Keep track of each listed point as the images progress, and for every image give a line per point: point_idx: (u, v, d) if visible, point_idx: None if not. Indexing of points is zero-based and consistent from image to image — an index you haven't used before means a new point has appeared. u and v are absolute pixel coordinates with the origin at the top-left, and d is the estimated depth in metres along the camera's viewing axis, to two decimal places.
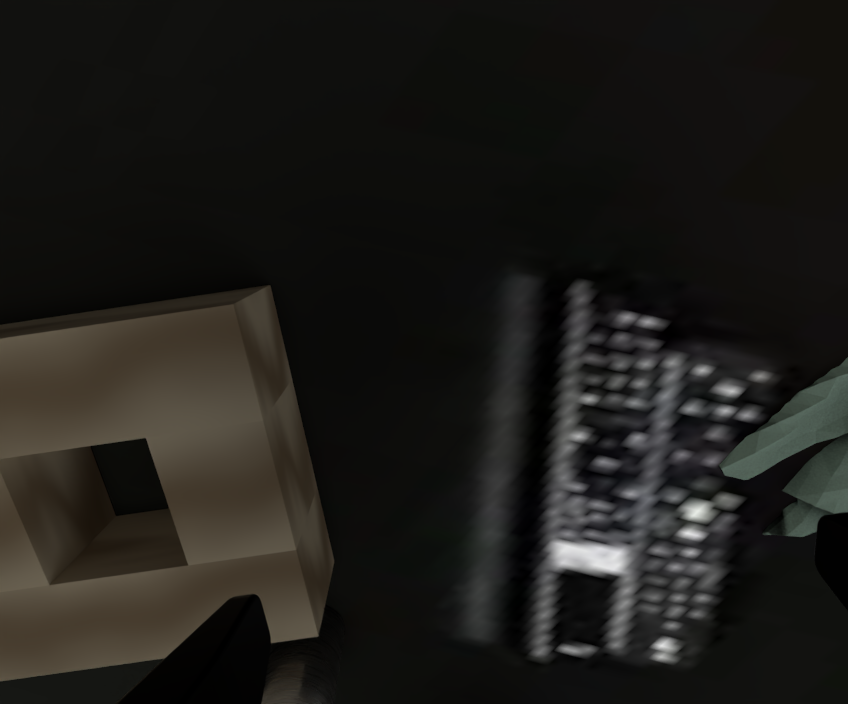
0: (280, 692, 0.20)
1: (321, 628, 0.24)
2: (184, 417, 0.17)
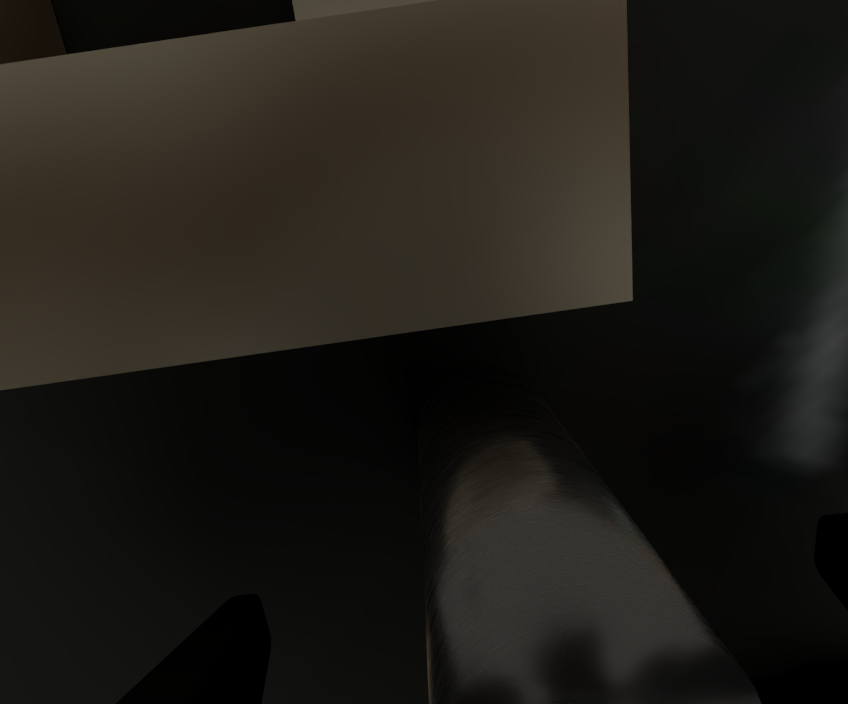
0: (517, 462, 0.08)
1: (533, 397, 0.11)
2: None
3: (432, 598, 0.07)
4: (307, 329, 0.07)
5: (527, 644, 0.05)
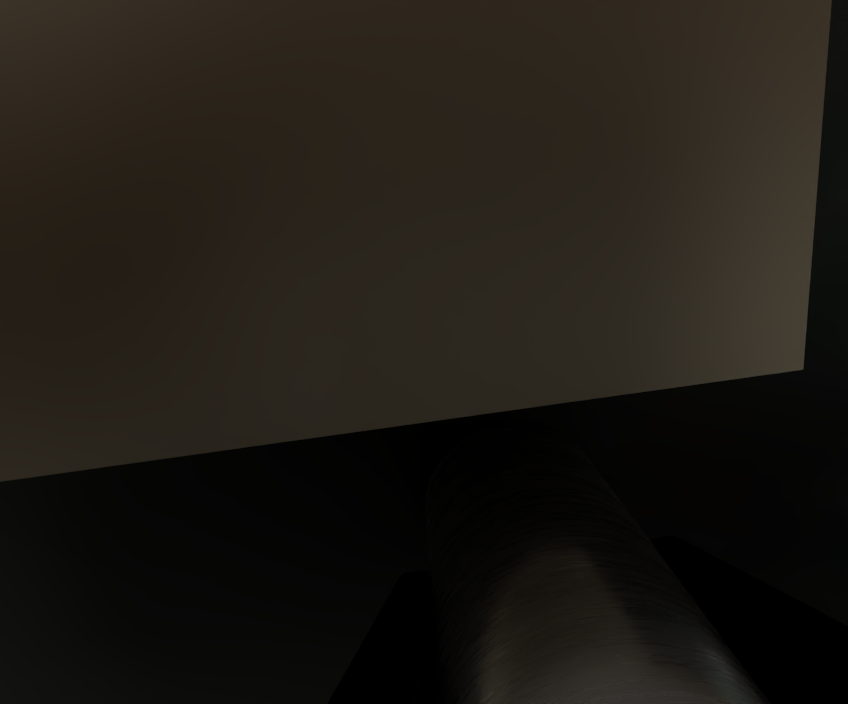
0: (600, 635, 0.05)
1: (586, 471, 0.08)
2: None
3: None
4: (244, 419, 0.04)
5: None
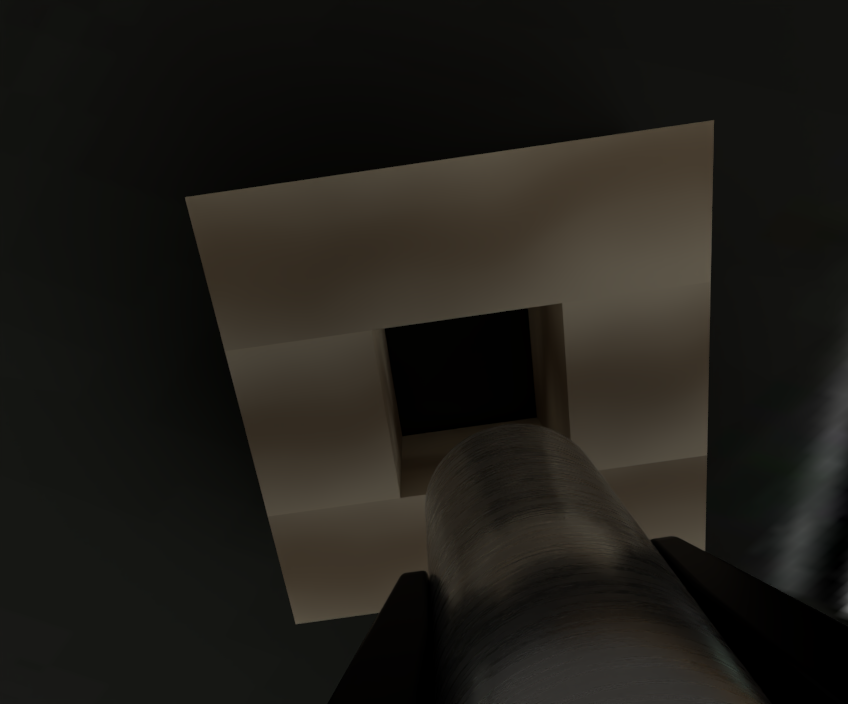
0: (602, 638, 0.05)
1: (587, 472, 0.08)
2: (615, 276, 0.14)
3: None
4: None
5: None
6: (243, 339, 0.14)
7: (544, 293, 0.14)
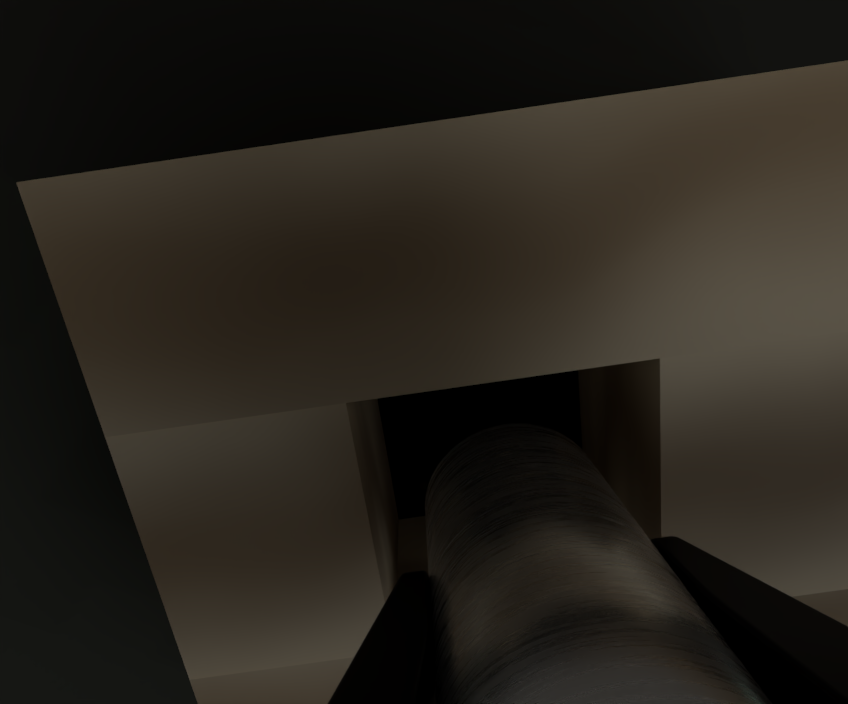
0: (602, 637, 0.05)
1: (587, 471, 0.08)
2: (750, 314, 0.08)
3: None
4: None
5: None
6: (134, 418, 0.08)
7: (631, 343, 0.08)
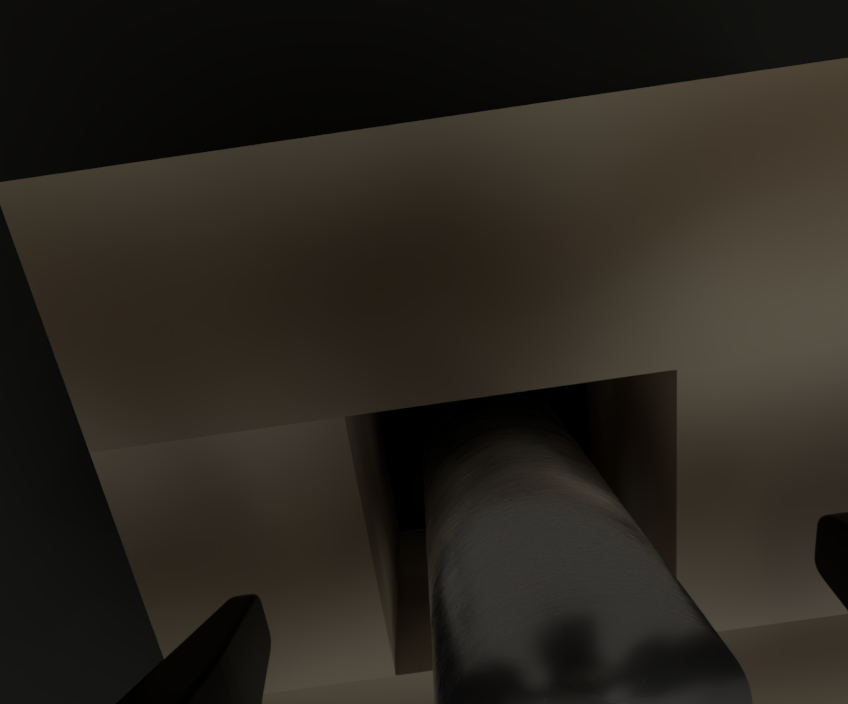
0: (519, 458, 0.08)
1: (534, 396, 0.11)
2: (773, 323, 0.08)
3: (436, 587, 0.07)
4: None
5: (526, 626, 0.05)
6: (120, 433, 0.08)
7: (647, 353, 0.08)
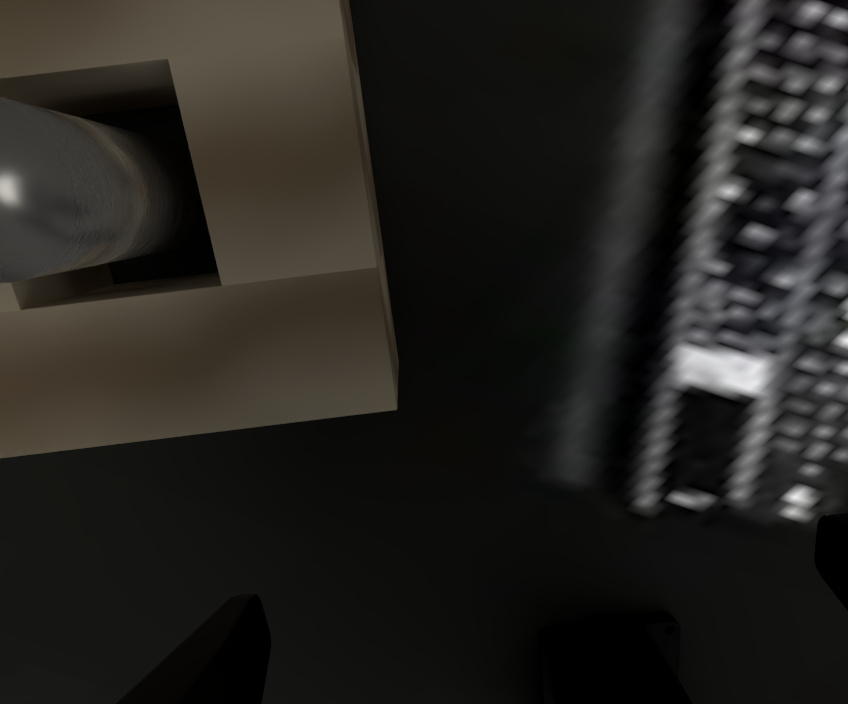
0: None
1: (171, 144, 0.15)
2: (227, 24, 0.12)
3: None
4: (231, 421, 0.14)
5: None
6: None
7: (143, 44, 0.12)
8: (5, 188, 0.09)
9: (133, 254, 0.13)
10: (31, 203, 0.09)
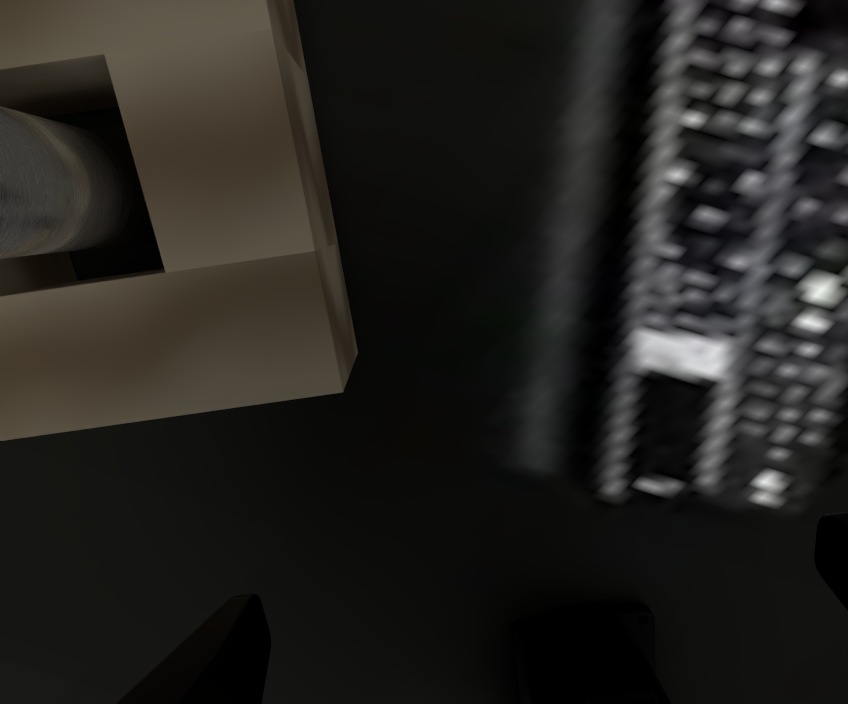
0: None
1: (124, 141, 0.16)
2: (159, 20, 0.12)
3: None
4: (180, 407, 0.15)
5: None
6: None
7: (80, 41, 0.12)
8: None
9: (80, 244, 0.13)
10: None
